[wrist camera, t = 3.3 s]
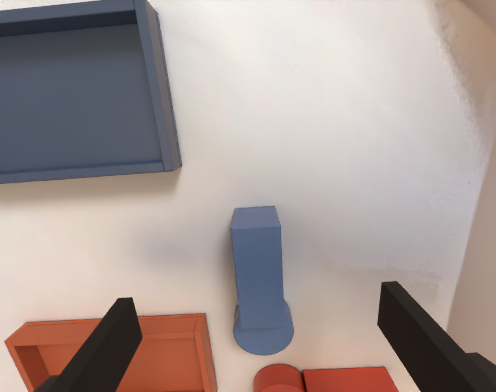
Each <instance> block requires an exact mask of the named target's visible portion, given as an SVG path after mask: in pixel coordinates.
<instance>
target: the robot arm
mask: <svg viewBox="0 0 496 392" xmlns="http://www.w3.org/2000/svg"><path fill="white" fill-rule="evenodd" d="M377 325H378V326H379V328H380V329H381V331H382V333H383V334H384V336H385V337H386V339H387V340H388V342H389V343H390V345H391V346H392V348H393V350H394V351H395V353H396V354H397V356H398V357H399V359H400V360H401V362H402V363H403V365H404V367H405V368H406V370H407V371H408V373H409V374H410V376H411V377H412V379H413V380H414V382H415V383H416V385H417V387H418V388H419V390H420V391H421V392H496V365H495V364H493V363H492V362H490V361H489V360H487V359H486V358H484V357H483V356H481V355H480V354H478V353H465V352H464V351H463V350H462V349H461V348H460V347H459V346H458V345H457V344H456V343H455V342H454V341H453V339H452V338H451V337H450V336H449V335H448V334H447V333H446V332H445V331H444V330H443V329H442V328H441V327H440V326H439V325H438V324H437V323H436V322H435V321H434V320H433V319H432V317H431V316H430V315H429V314H428V313H427V312H426V311H425V310H424V309H423V308H422V307H421V306H420V305H419V304H418V303H417V302H416V301H415V300H414V299H413V298H412V297H411V296H410V294H409V293H408V292H407V291H406V290H405V289H404V288H403V287H402V286H401V285H400V284H399V283H398V282H397V281H393V282H382V285H381V295H380V304H379V313H378V323H377ZM142 339H143V336H142V332H141V328H140V324H139V321H138V317H137V313H136V310H135V306H134V302H133V298H132V297H130V298H118V299H117V300H116V302H115V303H114V304H113V306H112V307H111V308H110V309H109V311H108V312H107V313H106V315H105V316H104V317H103V319H102V320H101V321H100V322H99V324H98V325H97V326H96V328H95V329H94V330H93V332H92V333H91V334H90V336H89V337H88V338H87V339H86V341H85V342H84V343H83V345H82V346H81V347H80V349H79V350H78V351H77V352H76V354H75V355H74V356H73V358H72V359H71V360H70V362H69V363H68V364H67V365H66V367H65V368H64V369H63V371H62V372H61V373H60V375H51V376H50V377H49V378H47V379H46V380H45V381H44V382H43V383H42V384H40V385H39V386H38V387H37V388H36V389H35V390H34V391H33V392H116V390H117V388H118V386H119V384H120V382H121V380H122V378H123V376H124V374H125V372H126V370H127V368H128V366H129V364H130V362H131V360H132V358H133V356H134V354H135V352H136V350H137V348H138V347H139V345H140V343H141V341H142Z"/></svg>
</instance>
